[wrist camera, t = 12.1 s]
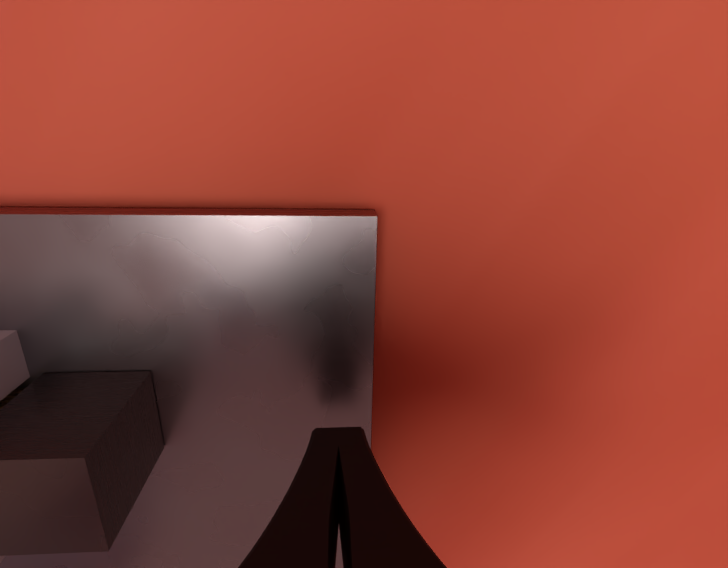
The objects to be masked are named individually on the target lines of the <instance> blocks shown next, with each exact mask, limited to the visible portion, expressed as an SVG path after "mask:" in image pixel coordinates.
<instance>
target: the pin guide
mask: <svg viewBox="0 0 728 568" xmlns="http://www.w3.org/2000/svg"><path fill="white" fill-rule="evenodd" d="M29 377H30V374H29V371H28V368H27V364H26V361H25V357H24V354H23V351H22V347H21V344H20V340H19V337H18V334H17V330H0V401H1V400H2V399H3V398H5V397H6V396H7V395H8V394H10V393H11V392H12V391H13V390H14V389H16V388H17V387H18V386H19V385H21V384H22V383H23V382H24V381H26V380H27V379H28V378H29ZM4 557H5V556H0V563H1V561H2V560H3V559H4Z"/></svg>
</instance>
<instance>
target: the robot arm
mask: <svg viewBox="0 0 728 568" xmlns="http://www.w3.org/2000/svg"><path fill="white" fill-rule="evenodd" d="M338 528H339V530H340V540H341V550H342V560H343V568H447V567H446V566H445V565H444V564H443V563H442V562H441V561H440V559H439V558H438V557H437V555H436V554H435V553H434V552H433V550H432V549H431V548H430V547H429V545H428V544H427V543H426V542H425V540H424V539H423V537H422V536H421V535H420V533H419V532H418V531H417V529H416V528H415V527H414V525H413V524H412V522H411V521H410V519H409V518H408V516H407V515H406V513H405V512H404V510H403V509H402V507H401V505H400V504H399V502H398V501H397V499H396V497H395V496H394V494H393V492H392V491H391V489H390V487H389V485H388V483H387V481H386V480H385V478H384V476H383V474H382V472H381V470H380V468H379V466H378V464H377V462H376V460H375V458H374V456H373V453H372V451H371V449H370V446H369V444H368V441H367V438H366V435H365V431H364V429H362V428H361V427H330V428H315V429H314V430H313V431H312V433H311V437H310V441H309V444H308V447H307V450H306V452H305V455H304V457H303V459H302V462H301V464H300V466H299V468H298V471H297V473H296V475H295V477H294V479H293V481H292V483H291V485H290V487H289V489H288V491H287V493H286V494H285V496H284V498H283V500H282V502H281V503H280V505H279V507H278V509H277V510H276V512H275V514H274V516H273V517H272V519H271V521H270V522H269V524H268V525H267V527H266V529H265V530H264V532H263V533H262V535H261V536H260V538H259V539H258V541H257V542H256V544H255V545H254V546H253V548H252V549H251V551H250V552H249V554H248V555H247V556H246V558H245V559H244V560H243V562H242V563H241V564H240V566H239V567H238V568H335V566H336V553H337V541H338Z"/></svg>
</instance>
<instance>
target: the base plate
mask: <svg viewBox="0 0 728 568" xmlns="http://www.w3.org/2000/svg"><path fill="white" fill-rule="evenodd" d="M376 248H377V214H376V212H375V210H360V209H212V208H63V207H0V330H17V334H18V337H19V340H20V344H21V347H22V351H23V354H24V357H25V361H26V364H27V368H28V371H29V374H30V377H29V378H28V379H27V380H26V381H24V382H23V383H22V384H21V385H19V386H18V387H17V388H26V387H27V386H29V385H30V384H31V383H32V382H33V381H35V380H36V379H37V378H38V377H39V376H41V375H42V374H43V373H68V372H127V371H151V377H152V382H153V388H154V393H155V399H156V405H157V410H158V416H159V421H160V427H161V433H162V438H163V444H164V449H163V451H162V453H161V455H160V457H159V459H158V461H157V462H156V464H155V466H154V468H153V470H152V472H151V474H150V475H149V477H148V479H147V481H146V483H145V485H144V487H143V488H142V490H141V492H140V494H139V496H138V498H137V500H136V502H135V503H134V505H133V507H132V509H131V511H130V513H129V515H128V516H127V518H126V520H125V522H124V524H123V526H122V528H121V529H120V531H119V533H118V535H117V537H116V539H115V541H114V542H113V544H112V546H111V548H110V550H109V551H105V552H82V553H58V554H35V555H11V556H5V557H4V559H3V560H2V561H1V563H0V568H238V567H239V566H240V564H241V563H242V562H243V560H244V559H245V558H246V556H247V555H248V554H249V552H250V551H251V549H252V548H253V546H254V545H255V544H256V542H257V541H258V539H259V538H260V536H261V535H262V533H263V532H264V530H265V529H266V527H267V525H268V524H269V522H270V521H271V519H272V517H273V516H274V514H275V512H276V510H277V509H278V507H279V505H280V503H281V502H282V500H283V498H284V496H285V494H286V493H287V491H288V489H289V487H290V485H291V483H292V481H293V479H294V477H295V475H296V473H297V471H298V468H299V466H300V464H301V462H302V459H303V457H304V455H305V452H306V450H307V447H308V444H309V441H310V437H311V433H312V431H313V430H314V429H315V428H330V427H361V428H362V429H364V431H365V435H366V438H367V441H368V444H369V446H370V449H371V421H372V387H373V352H374V317H375V282H376ZM335 568H343V560H342V550H341V540H340V530H339V528H338V541H337V553H336V566H335Z"/></svg>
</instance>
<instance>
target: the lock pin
mask: <svg viewBox="0 0 728 568" xmlns="http://www.w3.org/2000/svg"><path fill="white" fill-rule="evenodd" d="M163 449H164V444H163V438H162V433H161V427H160V421H159V416H158V410H157V405H156V399H155V393H154V388H153V382H152V377H151V371H127V372H68V373H43V374H42V375H41V376H39V377H38V378H37V379H36V380H35V381H33V382H32V383H31V384H30V385H29V386H27V387H26V388H16V389H14V390H13V391H12V392H11V393H10V394H8V395H7V396H6V397H5V398H3V399H2V400H1V401H0V556H11V555H35V554H58V553H82V552H105V551H109V550H110V548H111V546H112V544H113V542H114V541H115V539H116V537H117V535H118V533H119V531H120V529H121V528H122V526H123V524H124V522H125V520H126V518H127V516H128V515H129V513H130V511H131V509H132V507H133V505H134V503H135V502H136V500H137V498H138V496H139V494H140V492H141V490H142V488H143V487H144V485H145V483H146V481H147V479H148V477H149V475H150V474H151V472H152V470H153V468H154V466H155V464H156V462H157V461H158V459H159V457H160V455H161V453H162V451H163Z"/></svg>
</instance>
